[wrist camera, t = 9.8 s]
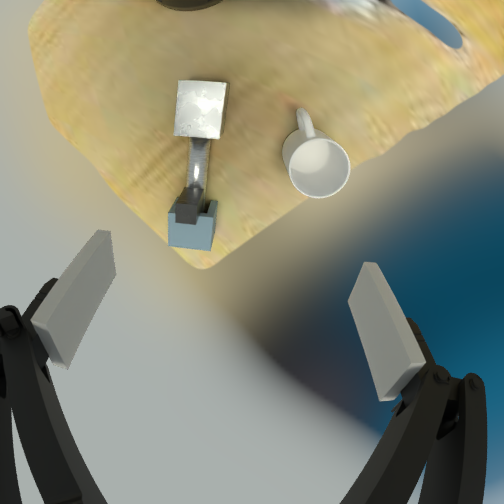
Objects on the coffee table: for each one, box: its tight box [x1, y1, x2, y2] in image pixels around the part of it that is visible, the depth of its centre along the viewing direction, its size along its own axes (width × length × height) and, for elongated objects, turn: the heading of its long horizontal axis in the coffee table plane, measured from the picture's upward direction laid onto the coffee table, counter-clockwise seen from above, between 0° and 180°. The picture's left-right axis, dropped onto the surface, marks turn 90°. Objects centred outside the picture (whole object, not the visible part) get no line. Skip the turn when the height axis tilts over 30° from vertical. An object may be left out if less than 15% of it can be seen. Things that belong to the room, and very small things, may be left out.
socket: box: [168, 197, 218, 251], centre depth 48 cm, size 6×7×6 cm
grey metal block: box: [174, 80, 230, 139], centre depth 38 cm, size 8×6×6 cm
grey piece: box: [175, 137, 211, 225], centre depth 42 cm, size 15×3×9 cm, turn 172°
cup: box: [282, 108, 350, 198], centre depth 40 cm, size 8×12×10 cm
